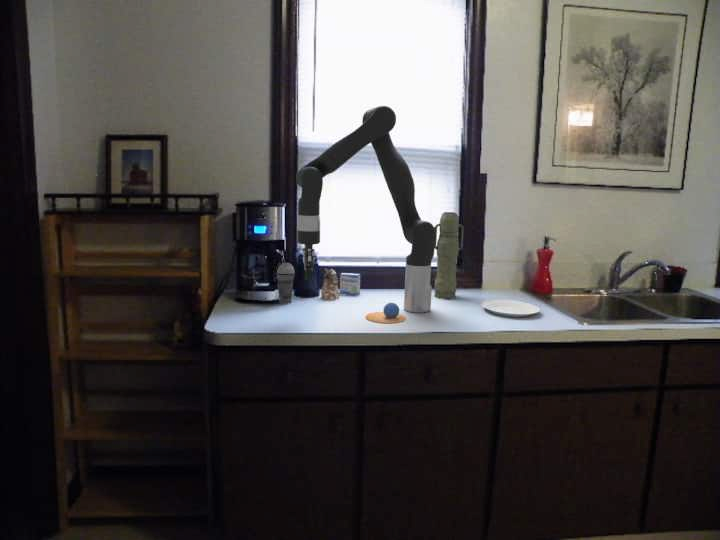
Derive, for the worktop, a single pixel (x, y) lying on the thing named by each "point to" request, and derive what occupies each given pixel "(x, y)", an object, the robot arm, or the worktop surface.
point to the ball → (391, 310)
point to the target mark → (384, 318)
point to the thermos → (447, 255)
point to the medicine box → (349, 284)
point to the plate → (511, 308)
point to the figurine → (330, 286)
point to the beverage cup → (285, 282)
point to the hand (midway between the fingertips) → (308, 280)
